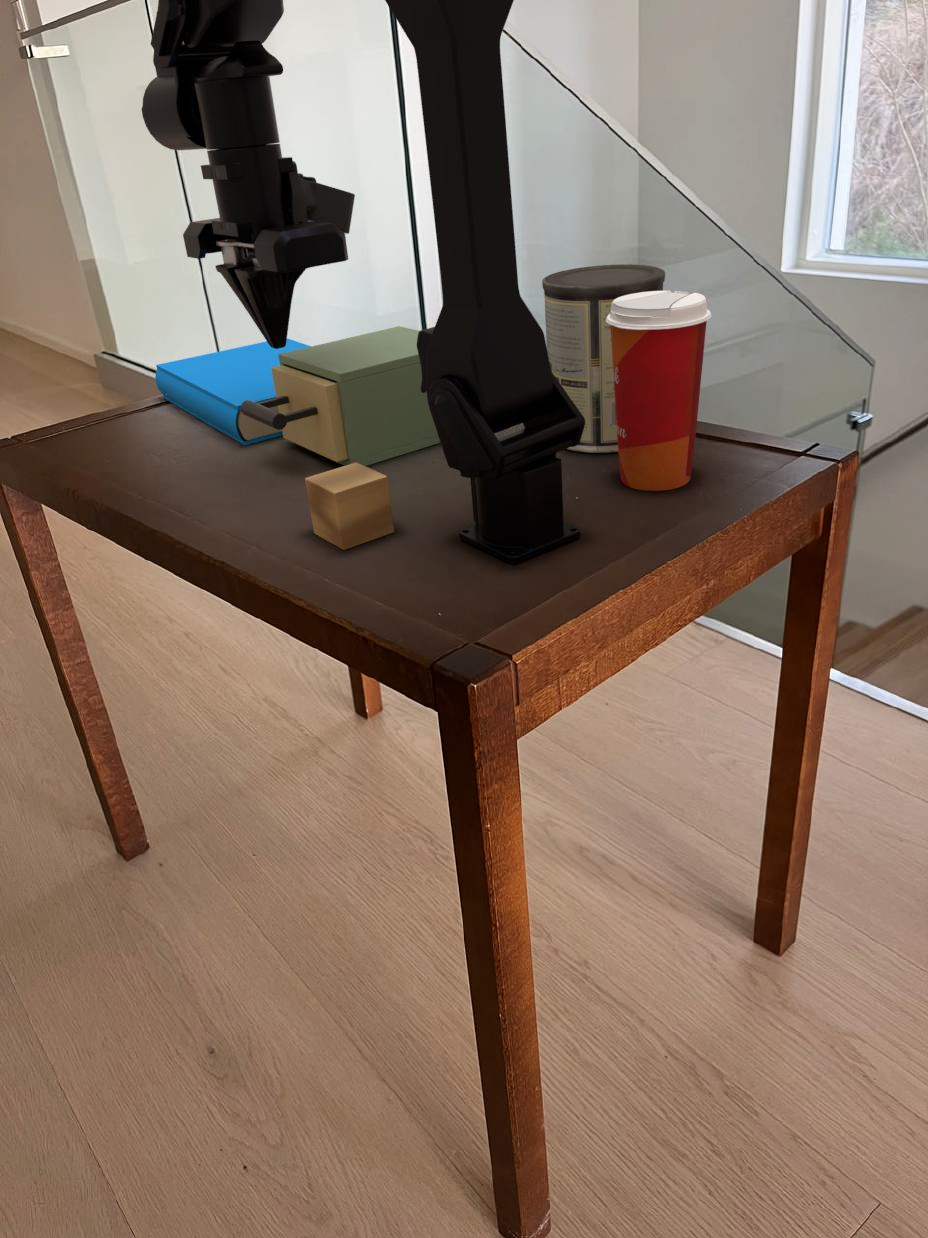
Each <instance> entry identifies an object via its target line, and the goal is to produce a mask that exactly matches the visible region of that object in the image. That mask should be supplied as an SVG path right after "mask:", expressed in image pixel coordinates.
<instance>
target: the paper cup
mask: <svg viewBox="0 0 928 1238" xmlns="http://www.w3.org/2000/svg"><path fill="white" fill-rule="evenodd" d="M711 318H712V313H711V311H710V309H708V304H707V298H706V296H705V295H704V294H701V293H699V292H693V293H691V292H689V291H681V290H680V291H679V290H674V292H672V290H663V291H649V292H640V293H634V294H629V295H625V296H621V297H618V298H616V299H615V300H613V302H612V305H611V312H610V314H609V315H608V316H607V318H606V322H607V323H608V324H610V327H611V343H612V359H613V376H614V392H615V408H616V424H617V439H618V452H617V453H618V463H619V465H618V466H619V474H620V480H621V483H622V484H624V485H625V486H627V487H628V488H631V489H634V490H638V491H645V492H648V491H649V492H661V491H670V490H674V489H678V488H681V487H683V486H685V485H688V483H689V482H690V481H691V478H692V471H693V464H694V463H693V462H694V455H695V445H696V444H695V443H696V434H697V425H698V417H699V415H698V414H699V405H700V397H701V396H700V394H701V383H702V374H703V373H702V372H703V364H704V363H703V362H704V354H705V353H704V352H705V341H706V333H707V332H706V331H707V321H709V320H711Z"/></svg>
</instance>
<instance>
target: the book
mask: <svg viewBox="0 0 928 1238" xmlns="http://www.w3.org/2000/svg"><path fill="white" fill-rule="evenodd" d="M312 346H313V345H308V344H305V343H302V342H300V341H296V340H294V339H290V338H288V337H287V341H286V346H285V347H283V348H279V349H275V348H272V347H270V345H269V344H268V342H267V341H266V340H265V341H262V342H257V343H253V344H248V345H243V346H239V347H234V348H229V349H224V350H219V351H215V352H210V353H206V354H200V355H197V356H196V355H195V356H192V357H188V358H181V359H178V360H174V361H168V362H164V363H163V362H162V363H159V364H155V367H156V371H155V384H156V388H157V389H158V391H159V392H160V394H162V396H163V399H164V400H165V401H168V402H169V403H172V404H173V405H174V406H177V407H178V408H180V409H182V410H183V411H185V412H187V413H189V414H190V415H192V416H193V417H196V418H197V419H198V420H201V421H202V422H204V423H205V424H207V425H209V426H211V427H213V428H214V429H216V430H218V431H219V432H221V433H223V434H225V435H227V436H228V437H230V438H231V439H233V440H235V441H237V442H238V443H240V444H242V445H243V446H248V445H251V444H256V443H260V442H263V441H266V440H270V439H274V438H279V437H281V436H282V437H283V432H282V429H281V430H277V429H275V428H273V427H270V426H268V425H266V424H264V423H261V422H259V421H257V420H255V419H252V418H250V417H248V416H246V415H244V414H243V413H242V412H241V405H242V403H243V402H244V401H246V400H250V401H252V402H255V403H259V402H262V401H266V400H270V399H274V398H276V393H275V387H274V381H273V376H272V370H271V368H272V367H276V366H280V362H279V357H278V354H281V353H286V352H290V351H294V350H299V349H303V348H307V347H312ZM166 394H167V395H166ZM269 409H272V410H274V411H277V412H279V409H278V406H275V407H271V408H269Z"/></svg>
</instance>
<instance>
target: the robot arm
mask: <svg viewBox="0 0 928 1238" xmlns="http://www.w3.org/2000/svg"><path fill="white" fill-rule="evenodd" d="M157 1H158V4H157V9H156V10H157V11H156V16H155V19H154V24H153V25H154V26H153V30H152V35H151V39H150V46H151V48H152V49H153V55H152V57H153V58H152V62H153V66H154V68H155V74H156V77H154V78H153V79H152V80H151V81H150V82H149V83H148V85H147V86H146V88H145V90H144V94H143V97H142V105H141V114H142V119H143V121H144V125H145V127H146V128H147V131H148V133H149V134H150V136H152V138H153V139H154V140H155V141H156V142H157V143H158V144H160V145H161V146H163V147H165V148H166V149H169V150H172V151H193V150H206V153H207V158H208V163H209V164H202V165H200V169H201V174H202V179H203V180H212V184H213V190H214V195H215V200H216V205H217V210H218V215H219V217H216V218H208V219H203V220H197V221H190V222H189V224H188V225H187V227H186V229H185V230H184V232H183V234H182V237H183V243H184V247H185V252H186V257H187V258H191V259H198V260H201V259H206V255H207V254H215V253H221V255H222V261H223V263H219V264H216V265H215V266H214V267H215V269H216V272H217V273H220V274H221V276H222V277H223V279H224V281H226V283H227V285H228V286H229V287H230V289H231V290H232V292H233V293H234V294H235V296H236V297H237V299H238V300H239V301H240V303H241V304H242V306H243V308H244V310H246V311H247V314H248V315H249V316H250V318H251V320H252V321H253V323H254V324H255V326H256V327H257V329H258V330H259V331H260V333H261V335H262V336H263V337H264V339H265V342H266V341H267V342H268V344H269V345H270V347H272V348H275V349H279V348H283V347H285V346H286V341H287V338H288V332H289V325H290V317H291V309H292V302H293V295H294V290H295V286H296V283H297V282H298V280H299V278H300V277H301V276H302V275H303V274H304V272H305V271H306V270H307V269H310V268H315V267H319V266H321V267H322V266H325V265H331V264H336V263H342V262H346V261H348V260H349V252H348V246H347V239H346V234H347V235H348V234H350V231H351V223H352V218H353V217H352V216H353V212H354V205H355V197H356V194H355V193H353V192H350V191H346V190H343V189H339V188H336V187H332V186H329V185H327V184H322V183H319V182H317V179H316V178H315V177H314V176H304V174H303V173H300V172H299V171H298V165H297V163H296V161H294V160H293V157H292V156H287V157H286V156H285V157H283V154H282V148H281V147H282V146H281V143H280V142H281V140H280V135H279V130H278V123H277V116H276V110H275V103H274V96H273V91H272V83H271V78H270V77H275V76H280V75H282V74H283V73H284V66H283V64H282V63H281V62H280V61H279V60H278V58H276V56H274V55H272V54H271V53H270V52H269V51H268V50H267V49H266V48H265V46H264V45H263V44H264V43H265V42H266V41H267V40H268V38H269V37H270V35H271V34H272V32H273V30H274V29H275V28H276V26H277V25H278V24H279V21H280V20H281V19H282V17H283V15H284V12H285V6H284V0H157ZM384 1H385V3H386V4H387V6H388V8H389V10H390V11H391V12H392V14H393V16H394V17H395V19H396V20H397V23H398V24H399V26H400V27H401V29H402V30H403V33H404V34H405V35H406V37H407V39H408V40H409V42H410V44H411V45H412V47H413V49H414V54H415V58H416V67H417V68H416V69H417V76H418V77H417V78H418V85H419V94H420V102H421V112H422V121H423V129H424V130H423V131H424V138H425V139H424V140H425V147H426V154H427V166H428V173H429V183H430V193H431V200H432V202H431V203H432V209H433V218H434V219H433V220H434V228H435V237H436V245H437V254H438V263H439V272H440V279H441V288H442V307H441V308H440V312H439V315H438V317H437V320H436V322H435V324H434V326H432V327H429V328H425V329H421V330H418V331H419V333H418V338H417V350H418V354H419V358H420V363H421V369H422V382H421V392H422V393H425V392H427V400H428V405H429V409H430V412H431V415H432V418H433V421H434V424H435V427H436V430H437V433H438V436H439V439H440V442H441V443H440V445H441V448H442V451H443V454H444V457H445V460H446V461H445V462H446V463H447V466H448V467H449V468H450V469H453V470H457V471H459V473H460V476H461V477H462V478H466V479H470V490H471V492H470V493H471V502H472V515H473V521H474V522H475V523H474V524H472V525H470V526H468V527H465V528H463V529H461V530H458V538H459V539H461V540H463V541H465V542H466V543H468V544H470V545H472V546H474V547H477V548H479V549H481V550H483V551H485V552H487V553H490V554H491V555H493V556H496V557H498V558H500V559H501V560H504V561H505V562H508V563H518V562H521V561H523V560H526V559H528V558H530V557H534V556H536V555H538V554H540V553H543V552H546V551H548V550H550V549H553V548H555V547H558V546H561V545H562V544H563V545H564V544H565V543H567V542H570V541H572V540H575V539H577V538H579V537H581V528H579V527H577V526H575V525H573V524H570V523H567V522H565V521H564V499H563V497H564V495H563V494H564V493H563V470H562V469H563V465H562V459H561V458H559V457H557V453H560V452H562V451H564V450H567V448H569V447H574V446H577V445H579V443H580V440H581V437H582V433H583V430H584V426H585V418H584V417H583V415H582V414H581V412H580V411H579V410H578V408H577V407H576V405H575V404H574V403H573V401H572V400H571V398H570V397H569V395H568V394H567V393H566V391H565V390H564V388H563V387H562V386H561V384H560V383H559V381H558V380H557V378H556V377H555V376H554V374H553V373H552V371H551V368H550V363H549V357H548V352H547V342H546V336H545V333H544V330H543V329H542V327H541V325H540V324H539V322H538V321H537V319H536V318H535V316H534V315H533V313H532V311H531V310H530V308H529V307H528V305H527V304H526V302H525V301H524V299H523V298H522V296H521V293H520V288H519V276H518V275H519V274H518V264H517V263H518V262H517V252H516V251H517V250H516V236H515V225H514V223H515V222H514V211H513V200H512V199H513V198H512V185H511V172H510V160H509V147H508V135H507V134H508V133H507V122H506V121H507V120H506V108H505V96H504V82H503V69H502V56H501V55H502V54H501V38H502V34H503V32H504V29H505V26H506V23H507V20H508V18H509V15H510V12H511V9H512V7H513V4H514V1H515V0H384ZM521 424H523V428H522V429H519V430H516V431H514V432H511V433H509V434H506V435H503V436H500V437H499V438H498V437H497V436H496V434H497V433H501V432H503V431H506V430H508V429H510V428H513V427H516V426H519V425H521Z"/></svg>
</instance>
